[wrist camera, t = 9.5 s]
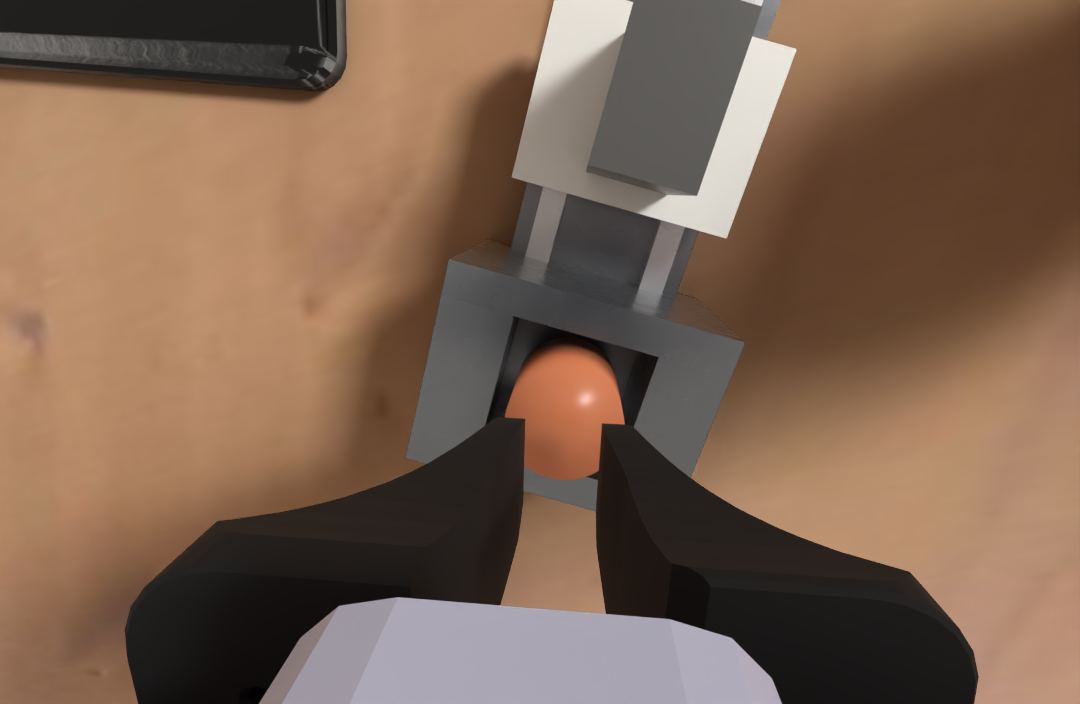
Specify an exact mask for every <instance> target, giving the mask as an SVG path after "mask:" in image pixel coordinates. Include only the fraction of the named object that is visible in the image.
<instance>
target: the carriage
mask: <svg viewBox="0 0 1080 704" xmlns="http://www.w3.org/2000/svg"><path fill="white" fill-rule="evenodd" d="M762 7H763V6H759V5H756V4H752V3H749V2H745V1H742V0H634V2H631V1H627V0H554V4H553V8H552V12H551V16H550V20H549V25H548V29H547V33H546V37H545V41H544V45H543V49H542V53H541V58H540V62H539V66H538V70H537V74H536V78H535V82H534V87H533V91H532V95H531V99H530V103H529V107H528V111H527V116H526V120H525V124H524V128H523V132H522V136H521V140H520V144H519V149H518V153H517V157H516V161H515V165H514V169H513V173H512V178H515V179H518V180H522V181H525V182H529V183H532V184H536V185H539V186H543V187H547V188H550V189H554V190H557V191H561V192H564V193H568V194H571V195H575V196H578V197H582V198H585V199H589V200H592V201H596V202H599V203H603V204H606V205H610V206H613V207H617V208H620V209H624V210H627V211H631V212H634V213H638V214H642V215H645V216H649V217H652V218H656V219H659V220H663V221H666V222H670V223H673V224H677V225H680V226H684V227H687V228H691V229H694V230H698V231H701V232H705V233H708V234H712V235H715V236H719V237H722V238H726V239H727V236H728V233H729V230H730V228H731V225H732V222H733V220H734V217H735V214H736V212H737V209H738V206H739V204H740V201H741V198H742V195H743V193H744V190H745V187H746V185H747V182H748V179H749V177H750V174H751V171H752V168H753V166H754V163H755V160H756V158H757V155H758V152H759V150H760V147H761V144H762V142H763V139H764V136H765V133H766V131H767V128H768V125H769V123H770V120H771V117H772V115H773V112H774V109H775V106H776V104H777V101H778V98H779V96H780V93H781V90H782V88H783V85H784V82H785V80H786V77H787V74H788V71H789V69H790V66H791V63H792V61H793V58H794V55H795V53H796V50H797V49H794V48H791V47H787V46H784V45H780V44H777V43H773V42H770V41H766V40H763V39H760V38H756V37H753V33H754V30H755V27H756V24H757V21H758V18H759V16H760V13H761V10H762Z"/></svg>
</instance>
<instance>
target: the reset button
mask: <svg viewBox="0 0 1080 704" xmlns="http://www.w3.org/2000/svg"><path fill="white" fill-rule="evenodd" d="M505 418H521V419H525V450H524V465H525V466H526V467H527V468H529V469H530V470H532V471H533V472H535V473H537V474H540V475H542V476H545V477H548V478H552V479H558V480H573V479H579V478H583V477H587V476H589V475H592V474H594V473H596V472H597V471H599V458H600V444H601V430H602V423H606V424H623V425H625V422H624V415H623V410H622V405H621V400H620V394H619V389H618V384H617V379H616V374H615V371H614V368H613V366H612V363H611V362H610V360H609V359H608V357H607V356H606V355H605V354H604V352H602V351H601V350H600V349H599V348H598V347H596V346H595V345H593V344H591V343H589V342H587V341H585V340H582V339H578V338H571V337H562V338H556V339H552V340H549V341H546V342H544V343H542V344H540V345H539V346H537V347H536V348H535V349H533V350H532V351H531V352H530V353H529V354H528V356H527V357H526V358H525V360H524V362H523V364H522V366H521V368H520V371H519V374H518V377H517V380H516V383H515V386H514V389H513V392H512V394H511V397H510V400H509V403H508V406H507V409H506V413H505Z"/></svg>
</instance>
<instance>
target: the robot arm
mask: <svg viewBox="0 0 1080 704" xmlns="http://www.w3.org/2000/svg"><path fill="white" fill-rule="evenodd" d="M524 450H525V419H521V418H504V417H497V418H495V419H494V420H492V421H491V422H489V423H488V424H487V425H485V426H484V427H482V428H481V429H480V430H478V431H477V432H476V433H474V434H473V435H471V436H470V437H469V438H467V439H466V440H464V441H463V442H461V443H460V444H459V445H457V446H456V447H454V448H452V449H451V450H449V451H447V452H446V453H444V454H442V455H441V456H439V457H438V458H436V459H434V460H433V461H431V462H429V463H428V464H426V465H424V466H422V467H420V468H418V469H416V470H414V471H412V472H410V473H408V474H405V475H403V476H401V477H399V478H397V479H394V480H392V481H390V482H387V483H385V484H382V485H379V486H376V487H373V488H370V489H367V490H364V491H362V492H359V493H356V494H353V495H350V496H347V497H344V498H340V499H336V500H333V501H329V502H325V503H321V504H317V505H313V506H308V507H304V508H300V509H295V510H290V511H285V512H279V513H273V514H266V515H259V516H253V517H246V518H240V519H233V520H225V521H217V522H216V523H215V524H214V525H213V526H212V527H210V528H209V529H208V530H207V531H206V532H205V533H204V534H203V535H202V536H200V537H199V538H198V539H197V540H196V541H195V542H194V543H193V544H192V545H191V546H189V547H188V548H187V549H186V550H185V551H184V552H183V553H182V554H181V555H180V556H178V557H177V558H176V559H175V560H174V561H173V562H172V563H171V564H170V565H168V566H167V567H166V568H165V569H164V570H163V571H162V572H161V573H160V574H159V575H157V576H156V577H155V578H154V579H153V580H152V581H151V582H150V583H149V584H148V585H146V586H145V588H144V589H143V590H142V592H141V593H140V595H139V596H138V597H137V599H136V600H135V602H134V603H133V604H132V606H131V608H130V612H129V616H128V620H127V624H126V628H125V637H126V649H127V658H128V663H129V667H130V671H131V675H132V679H133V683H134V688H135V692H136V696H137V700H138V704H974V701H975V695H976V689H977V683H978V672H977V667H976V662H975V657H974V652H973V650H972V648H971V647H970V645H969V644H968V642H967V640H966V639H965V637H964V636H963V634H962V632H961V631H960V629H959V628H958V627H957V625H956V624H955V623H954V622H953V621H952V620H951V618H950V617H949V616H948V615H947V614H946V613H945V612H944V610H943V609H942V608H941V607H940V606H939V605H938V604H937V602H936V601H935V600H934V599H933V598H932V597H931V595H930V594H929V593H928V592H927V591H926V590H925V589H924V587H923V586H922V585H921V584H920V583H919V582H918V581H917V580H916V578H915V577H914V576H913V575H912V574H911V573H910V572H908V571H905V570H901V569H898V568H894V567H891V566H887V565H884V564H880V563H877V562H873V561H870V560H866V559H863V558H859V557H856V556H852V555H849V554H846V553H842V552H839V551H836V550H833V549H830V548H828V547H825V546H822V545H820V544H817V543H814V542H811V541H809V540H806V539H803V538H801V537H798V536H796V535H793V534H791V533H788V532H786V531H784V530H781V529H779V528H777V527H774V526H772V525H770V524H768V523H766V522H764V521H762V520H760V519H758V518H756V517H754V516H752V515H749V514H747V513H746V512H744V511H742V510H740V509H738V508H736V507H734V506H733V505H731V504H729V503H728V502H726V501H724V500H723V499H721V498H720V497H718V496H716V495H715V494H713V493H711V492H710V491H708V490H707V489H705V488H704V487H702V486H701V485H699V484H698V483H697V482H695V481H694V480H693V479H691V478H690V477H689V476H687V475H686V474H685V473H683V472H682V471H681V470H680V469H678V468H677V467H676V466H675V465H674V464H672V463H671V462H670V461H669V460H668V459H667V458H665V457H664V456H663V455H662V454H661V453H660V452H659V451H658V450H657V449H656V448H654V447H653V446H652V445H651V444H650V443H649V442H648V441H647V440H646V439H645V438H644V437H643V436H642V435H641V434H640V433H639V432H638V431H637V430H636V429H635V428H634V427H633V426H631V425H623V424H606V423H602V430H601V444H600V458H599V472H598V486H597V500H596V542H597V553H598V561H599V568H600V575H601V582H602V589H603V596H604V603H605V610H606V614H599V613H587V612H574V611H562V610H550V609H537V608H525V607H512V606H500V604H501V601H502V597H503V594H504V590H505V586H506V583H507V579H508V575H509V572H510V568H511V564H512V561H513V557H514V553H515V549H516V546H517V542H518V536H519V529H520V522H521V514H522V507H523V488H524Z"/></svg>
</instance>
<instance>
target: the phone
mask: <svg viewBox="0 0 1080 704" xmlns="http://www.w3.org/2000/svg"><path fill="white" fill-rule="evenodd" d="M346 59H347V44H346V0H0V67H7V68H20V69H33V70H46V71H59V72H72V73H85V74H98V75H112V76H125V77H138V78H151V79H164V80H177V81H190V82H203V83H216V84H229V85H242V86H255V87H268V88H281V89H294V90H308V91H320V90H326V89H328V88H330V87H332V86H334V85H335V84H336V83H337V82H338V81H339V79H340V78H341V77H342V74H343V72H344V70H345V67H346Z"/></svg>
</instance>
